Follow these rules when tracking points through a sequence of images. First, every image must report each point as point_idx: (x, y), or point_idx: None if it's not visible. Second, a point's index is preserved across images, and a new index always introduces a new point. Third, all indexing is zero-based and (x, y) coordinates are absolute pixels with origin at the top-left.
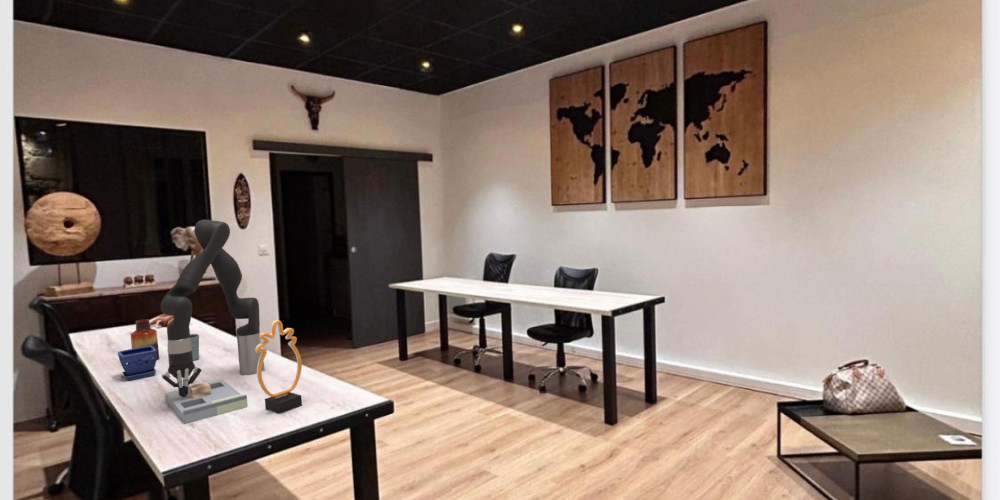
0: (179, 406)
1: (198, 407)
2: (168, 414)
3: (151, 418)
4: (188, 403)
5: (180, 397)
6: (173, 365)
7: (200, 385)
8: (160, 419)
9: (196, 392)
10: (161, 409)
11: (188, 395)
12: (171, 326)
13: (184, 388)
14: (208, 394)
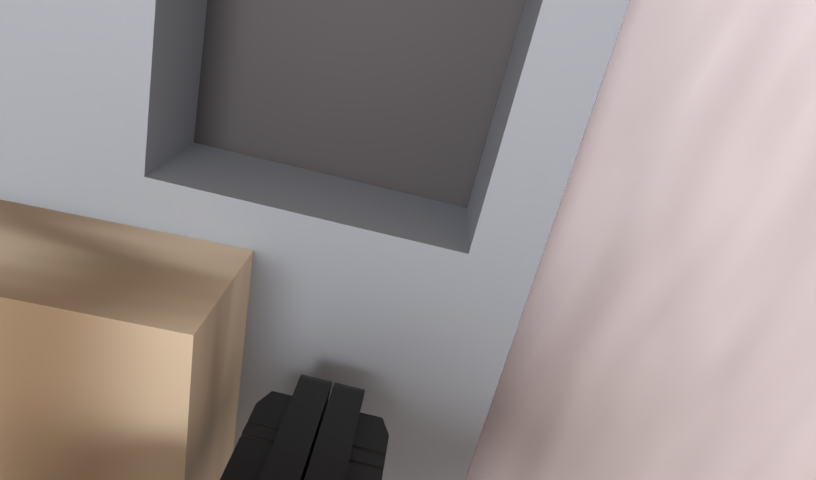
0: (561, 89)
1: None
2: (609, 239)
3: (791, 297)
4: (351, 210)
5: None
6: None
7: (3, 429)
8: (776, 146)
9: (157, 281)
10: (546, 475)
11: None
12: None
13: (289, 476)
14: (15, 207)
